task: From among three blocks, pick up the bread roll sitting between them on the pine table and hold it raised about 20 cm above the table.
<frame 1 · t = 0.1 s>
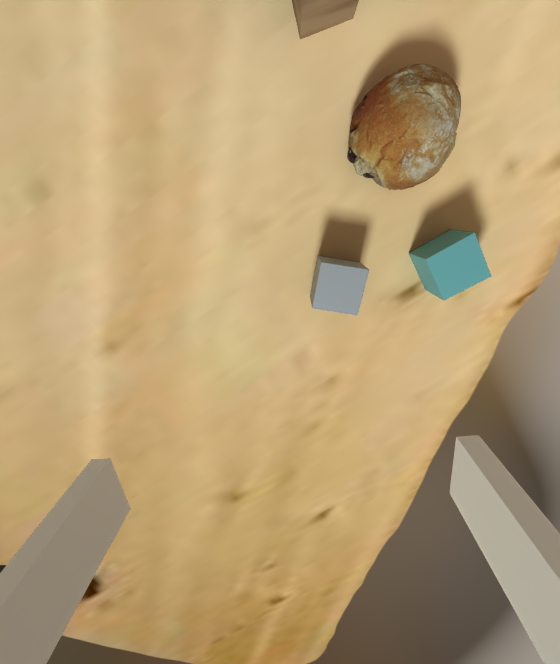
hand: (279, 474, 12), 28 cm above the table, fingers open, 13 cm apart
bread roll: (394, 138, 32), on the table
dark teal block: (437, 260, 36), on the table
slate grey block: (334, 279, 37), on the table
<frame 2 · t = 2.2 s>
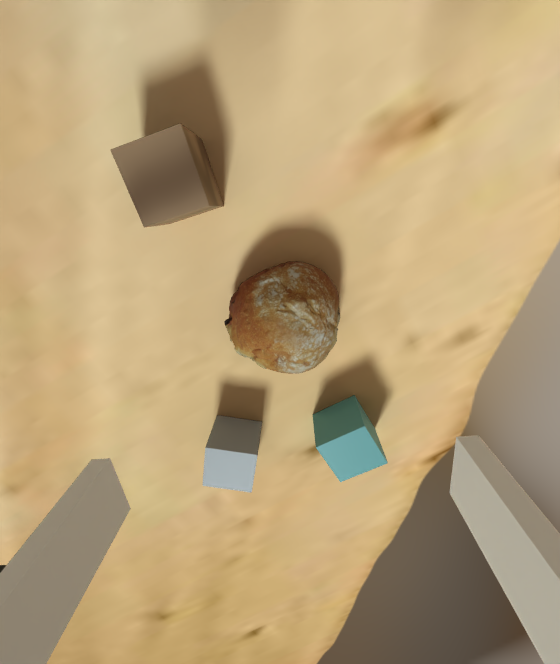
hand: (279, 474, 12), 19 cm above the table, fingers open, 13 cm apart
walnut block: (185, 183, 25), on the table
bread roll: (283, 313, 29), on the table
dark teal block: (343, 421, 34), on the table
slate grey block: (237, 435, 35), on the table
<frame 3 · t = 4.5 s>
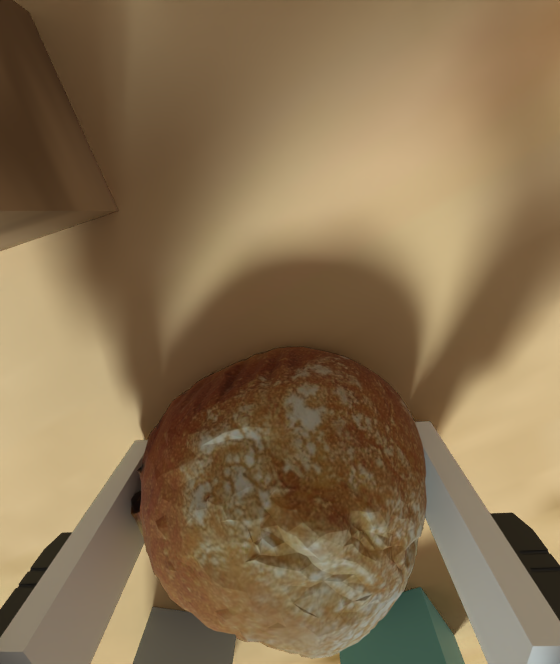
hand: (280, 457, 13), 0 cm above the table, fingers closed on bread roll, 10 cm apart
walnut block: (8, 150, 9), on the table
bread roll: (280, 446, 13), on the table, touching gripper
dark teal block: (394, 622, 17), on the table
slate grey block: (194, 634, 19), on the table
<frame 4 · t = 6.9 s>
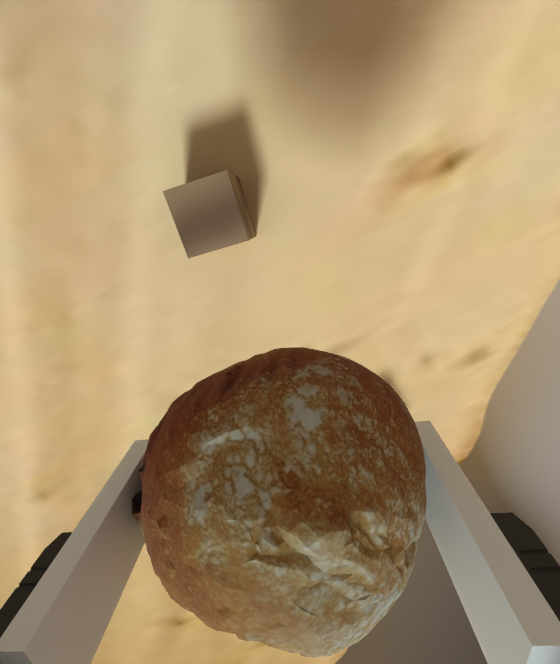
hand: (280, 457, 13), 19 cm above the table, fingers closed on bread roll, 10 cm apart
walnut block: (221, 216, 28), on the table
bread roll: (280, 446, 13), point 19 cm above the table, touching gripper
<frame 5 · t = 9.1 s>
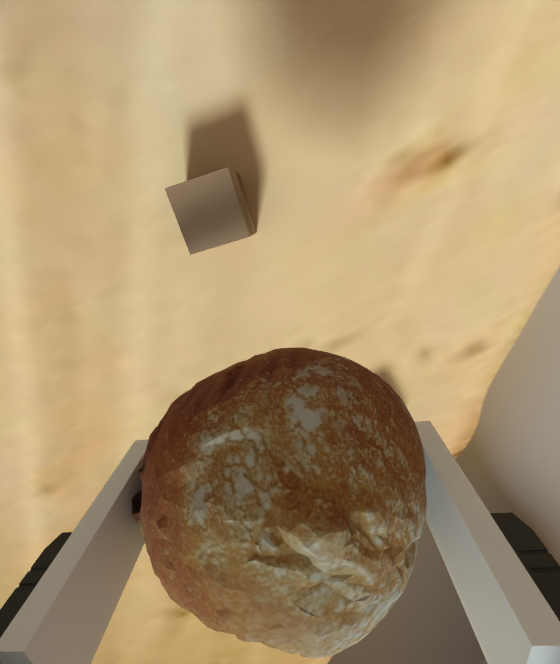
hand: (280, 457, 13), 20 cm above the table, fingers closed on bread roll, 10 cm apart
walnut block: (222, 212, 28), on the table
bread roll: (280, 446, 13), point 19 cm above the table, touching gripper
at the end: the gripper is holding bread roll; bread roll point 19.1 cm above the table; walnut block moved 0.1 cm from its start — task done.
